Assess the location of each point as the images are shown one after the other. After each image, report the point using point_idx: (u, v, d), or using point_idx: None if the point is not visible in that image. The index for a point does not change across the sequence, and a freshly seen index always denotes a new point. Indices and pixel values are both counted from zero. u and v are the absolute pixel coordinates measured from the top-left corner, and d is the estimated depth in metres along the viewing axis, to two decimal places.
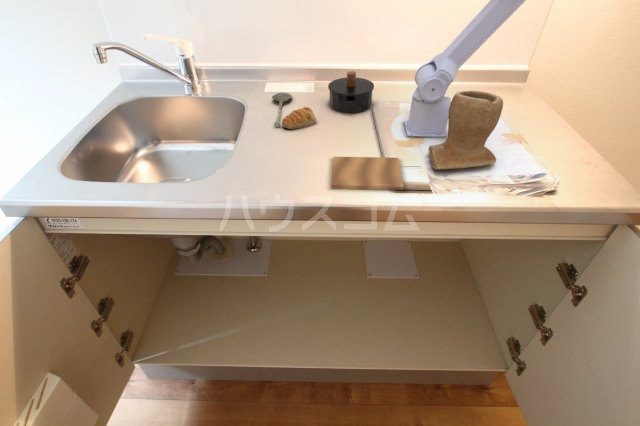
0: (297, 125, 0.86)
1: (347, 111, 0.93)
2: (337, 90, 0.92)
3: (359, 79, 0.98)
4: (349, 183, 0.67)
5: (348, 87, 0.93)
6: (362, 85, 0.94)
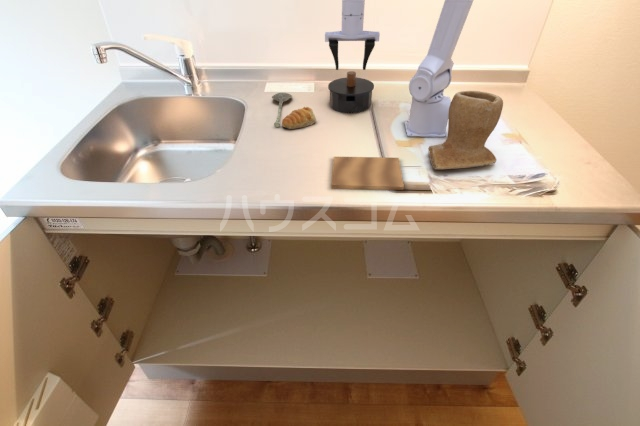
0: (297, 125, 0.86)
1: (347, 111, 0.93)
2: (337, 90, 0.92)
3: (359, 79, 0.98)
4: (349, 183, 0.67)
5: (348, 87, 0.93)
6: (362, 85, 0.94)
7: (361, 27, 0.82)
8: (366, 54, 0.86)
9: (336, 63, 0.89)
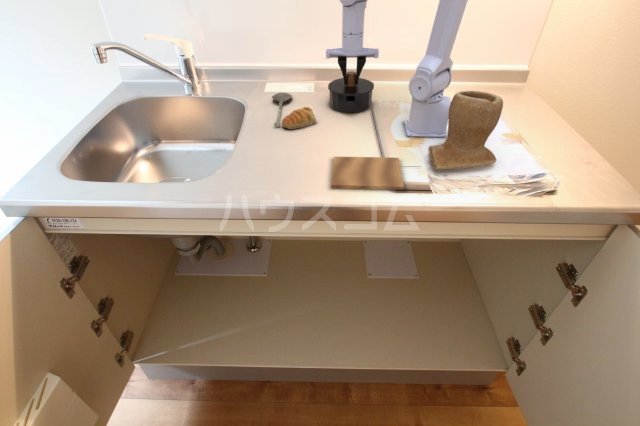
0: (297, 125, 0.86)
1: (347, 111, 0.93)
2: (337, 90, 0.92)
3: (359, 79, 0.98)
4: (349, 183, 0.67)
5: (348, 87, 0.93)
6: (362, 85, 0.94)
7: (361, 45, 0.85)
8: (358, 70, 0.89)
9: (344, 78, 0.92)
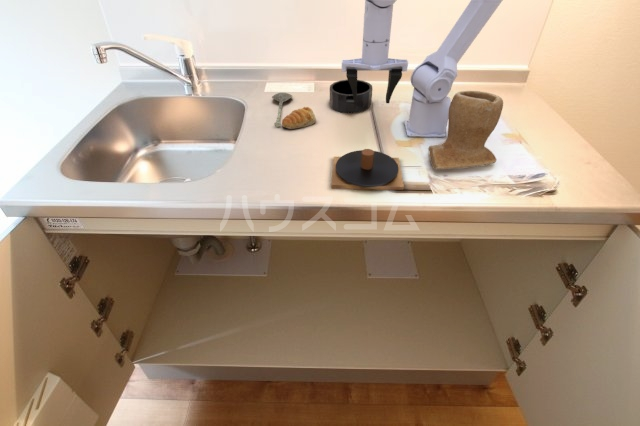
0: (297, 125, 0.86)
1: (347, 111, 0.93)
2: (358, 180, 0.65)
3: None
4: (349, 183, 0.67)
5: (366, 170, 0.68)
6: (380, 163, 0.70)
7: None
8: None
9: None
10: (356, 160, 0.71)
